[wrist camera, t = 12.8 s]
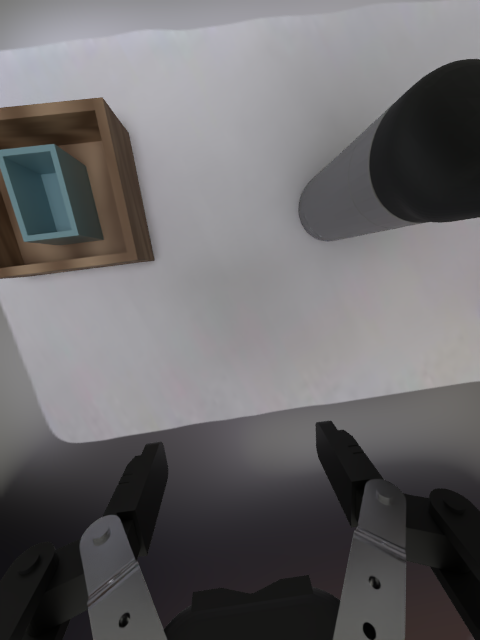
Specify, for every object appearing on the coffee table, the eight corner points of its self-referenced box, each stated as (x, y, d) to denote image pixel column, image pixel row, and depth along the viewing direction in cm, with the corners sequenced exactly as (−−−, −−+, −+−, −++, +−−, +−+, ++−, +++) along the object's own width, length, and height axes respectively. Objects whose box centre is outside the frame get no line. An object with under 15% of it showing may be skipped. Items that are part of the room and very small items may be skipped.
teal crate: (85, 165, 31) (54, 143, 25) (104, 239, 33) (78, 235, 27) (37, 171, 31) (-6, 150, 25) (59, 245, 33) (23, 241, 27)
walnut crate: (128, 133, 31) (102, 97, 25) (154, 260, 35) (137, 260, 28) (-16, 148, 31) (-84, 116, 24) (26, 276, 34) (-22, 280, 28)
